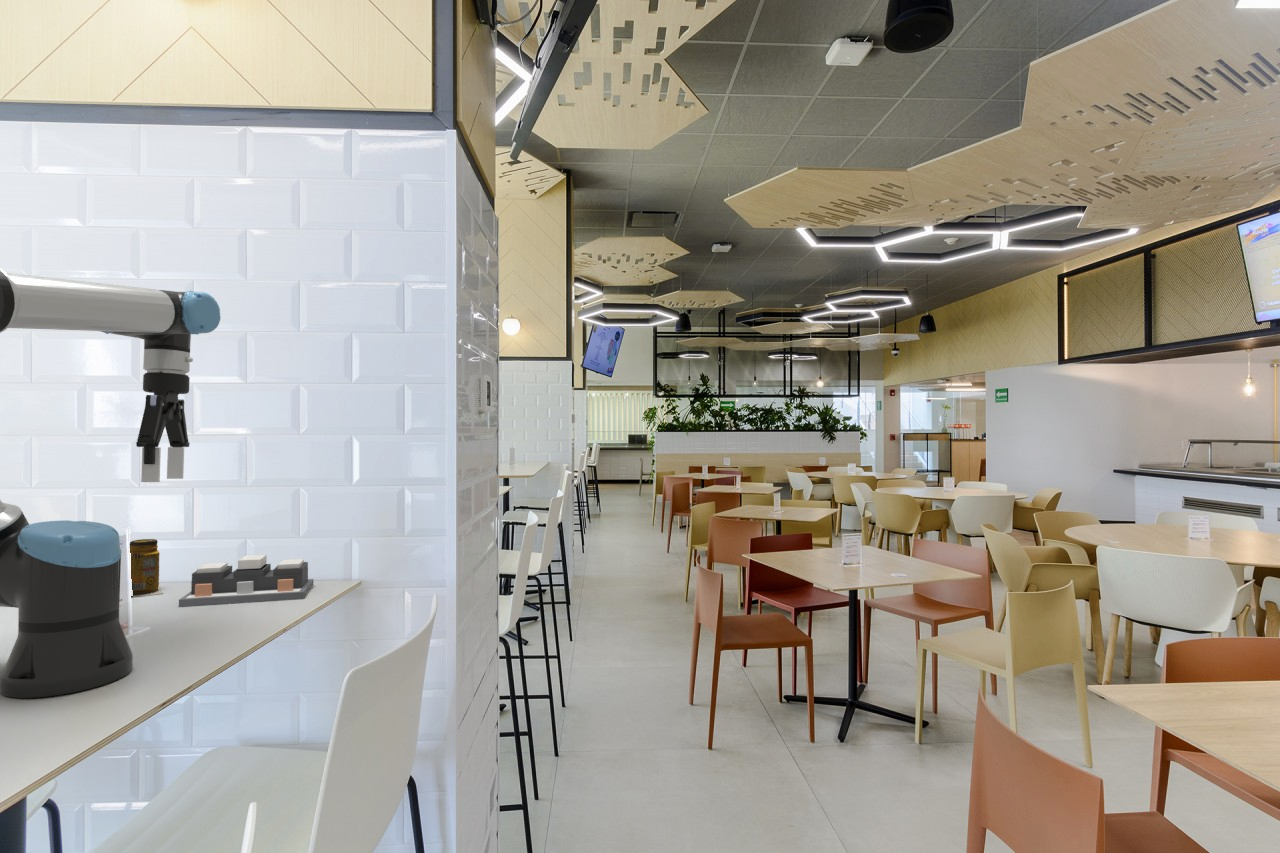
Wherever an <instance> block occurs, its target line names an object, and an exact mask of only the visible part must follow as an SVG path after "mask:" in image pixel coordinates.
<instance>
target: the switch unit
mask: <svg viewBox="0 0 1280 853" xmlns="http://www.w3.org/2000/svg"><path fill="white" fill-rule="evenodd" d="M190 582H191V587H190V588H191V589H190V590H191V591H189V592H188V593H187V594H185V595H184V596H181V598H179V599H178V608H179V607H180V608H182V607H197V606H198V607H199V606H215V605H227V604H228V605H229V603H231V604H243V602H247V603H257V602H258V603H260V602H274V601H275V602H277V601H290V600H303V599H304V598H305V597H306V596H307V595H308V593H309V592H310V590H311V589H312V588H313V586H314V578H309V562H308V561H304V565H303V566H302V567H301V568H288V569H278V565H276V566H275V568H273V569H272V568H271V563H266V564H265V565H264V566H263V567H261V568H257V569H238V568H236V569H234V571H233V565H228V568H226V569H225V570H224V571H222V572H210V573H197V570H196V571H194V572H192V573H191V581H190Z"/></svg>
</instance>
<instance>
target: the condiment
mask: <svg viewBox="0 0 1280 853" xmlns="http://www.w3.org/2000/svg"><path fill="white" fill-rule="evenodd" d="M158 543H159V542H158V539H155V538H143V539H135V540H131V541H130V542H129V548H130V551H129V552H130V553H131V579H132V590H133V597H132V598H135V597H137V598H138V597H145V596H146V597H149V596H152V595H160V594H164V592H163V590H162V588H161V586H160V585H159V584H160V551H159V550H158V548H159V547H158Z"/></svg>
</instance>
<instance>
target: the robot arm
mask: <svg viewBox="0 0 1280 853" xmlns="http://www.w3.org/2000/svg"><path fill="white" fill-rule="evenodd" d="M220 322H221V309H220V306H219V303H218V301H217V300H216V299H215V297H213V296H212V295H211V294H209V293H207V292H204V291H193V290H187V291H174V290H164V289H156V288H146V287H139V286H137V287H136V286H130V285H129V286H126V285H119V284H109V283H100V282H94V281H93V282H92V281H91V282H90V281H83V280H74V279H73V280H72V279H65V278H55V277H44V276H36V275H26V274H18V273H8V272H7V273H6V271H4V269H2V268H0V333H3V332H5V331H7V329H25V330H26V329H29V330H30V329H31V330H55V331H56V330H59V331H87V332H88V331H90V332H93V331H94V332H101V333H104V334H107V335H108V334H111V335H116V336H117V335H118V336H124V337H130V338H136V339H141V340H143V344H144V345H143V366H142V369H143V370H144V371H146V372H145V373H144V374H143V377H142V390H143V392H145V393H150V394H146V395H145V403H144V404H145V405H144V411H143V415H142V419H141V422H140V427H139V432H138V435H137V440H136V442H135V444H136V447H137V448H141V449H142V451H141V475H140V476H141V478H140V481H141V483H161V482H160V481H161V480H160V479H161V455H162V454H161V451H162V449H161V448H162V447H159V445H160V442H161V439H162V437H163V436H162V435H163V433H164V430H165V431H166V435H167V438H168V443H169V446H168V447H167V460H166V461H167V462H166V463H167V465H166V466H167V467H166V479H167V480H178V479H179V480H181V479H182V480H183V479H184V472H185V470H184V468H185V467H184V466H185V463H184V462H185V448H190V442H189V438H188V437H189V435H188V429H187V422H186V414H185V400H184V399H179V395H186V394H189V393H190V378H191V377H189V375H187V374H188V373H189V372H190V368H191V367H190V366H191V365H190V363H193V361H194V359H193V357H191V339H192V335H200V334H209V333H212V332H213V331H215V330H216V329H217V328H218V326H219V325H220ZM121 565H122V549H121V546H120V534H119V532H118V531H117V529H115V527H113V526H111V525H109V524H105V523H102V522H96V521H87V520H49V521H47V520H46V521H40V522H34V523H29V521H28V519H27V518H26V516H25V514H24V512H23V511H22V508H21V507H20V506H18V505H16V504H15V505H14V504H11V503H5V502H3V501H2V500H1V499H0V607H1V608H16V609H18V613H17V614H18V619H17V620H18V623H17V624H18V629H17V630H18V631H17V638H16V640H15V642H14V645H13V647H12V648H11V649H12V650H11V652H10V654H9V657H8V659H7V661H6V664H5V667H4V669H3V671H2V674H1V677H0V693H1V694H2V695H3V696H5V697H9V698H17V699H18V698H19V699H29V698H30V699H32V698H33V699H34V698H46V697H53V696H61V695H67V694H71V693H77V692H80V691H81V692H82V691H85V690H89V689H93V688H94V689H95V688H97V687H100V686H103V685H107V684H109V683H112V682H114V681H117V680H119V679H121V678H123V677H126V676H127V675H128V674H130V673H131V672H132V671H133V669H134V666H133V665H134V664H133V662H134V661H133V660H134V657H133V656H134V655H133V651H132V649H131V646H130V645H129V642H128V640H127V637H126V634H125V632H124V630H123V627H122V625H121V623H120V622H121V621H120V602H121V601H120V597H121V593H120V592H121V569H122V568H121Z"/></svg>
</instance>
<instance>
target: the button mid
mask: <svg viewBox="0 0 1280 853" xmlns="http://www.w3.org/2000/svg"><path fill="white" fill-rule="evenodd" d="M265 564H267V554H255V555H253V554H252V555H244V556H242V557H241V558H239V559H238V560H237V569H257V568H261V567H263V566H264V565H265Z"/></svg>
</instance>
